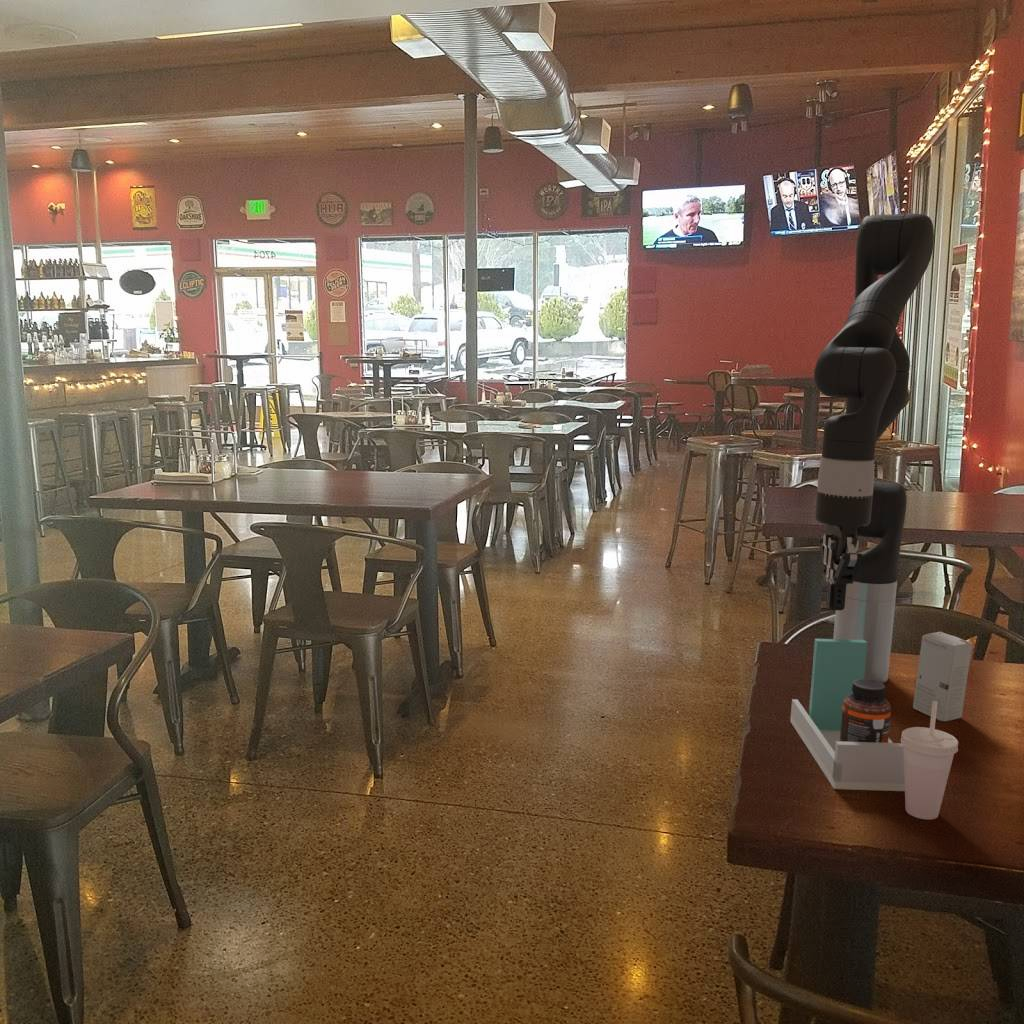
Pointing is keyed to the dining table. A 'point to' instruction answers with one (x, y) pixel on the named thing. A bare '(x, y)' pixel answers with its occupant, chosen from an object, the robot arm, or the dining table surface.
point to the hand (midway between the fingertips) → (835, 608)
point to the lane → (851, 757)
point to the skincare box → (942, 675)
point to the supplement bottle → (866, 713)
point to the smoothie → (926, 767)
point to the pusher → (834, 678)
